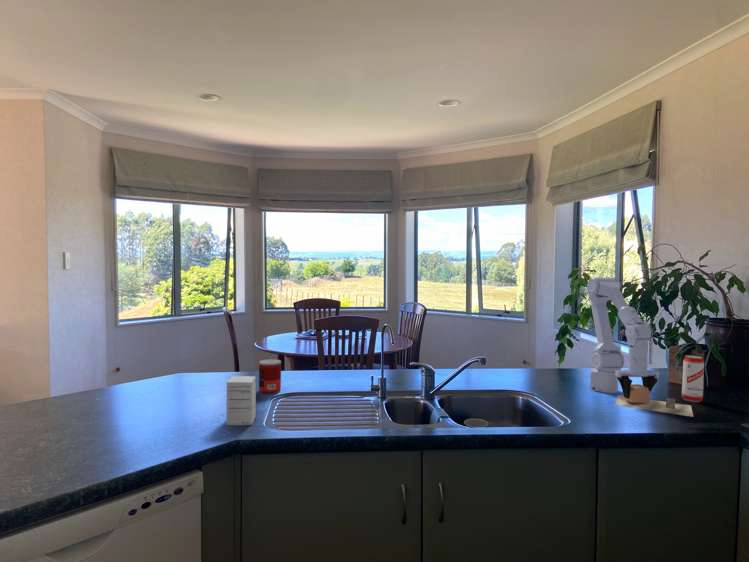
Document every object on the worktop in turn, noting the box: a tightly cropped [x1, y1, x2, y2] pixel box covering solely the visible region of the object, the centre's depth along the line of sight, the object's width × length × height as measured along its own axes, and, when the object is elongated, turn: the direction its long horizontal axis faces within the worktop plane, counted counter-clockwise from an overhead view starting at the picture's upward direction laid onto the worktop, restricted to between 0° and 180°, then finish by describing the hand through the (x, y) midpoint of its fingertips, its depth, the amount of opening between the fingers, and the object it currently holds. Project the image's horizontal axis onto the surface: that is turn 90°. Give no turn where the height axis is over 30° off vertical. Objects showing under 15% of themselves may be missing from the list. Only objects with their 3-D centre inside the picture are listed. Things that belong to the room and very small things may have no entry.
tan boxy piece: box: [622, 383, 651, 403], centre depth 161 cm, size 6×5×5 cm
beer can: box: [681, 354, 705, 403], centre depth 169 cm, size 6×6×16 cm
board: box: [614, 395, 694, 418], centre depth 158 cm, size 22×14×4 cm, turn 59°
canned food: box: [258, 358, 282, 395], centre depth 170 cm, size 8×8×11 cm
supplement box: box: [226, 375, 257, 426], centre depth 138 cm, size 7×7×13 cm
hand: (636, 397), depth 161 cm, fingers closed on tan boxy piece, 6 cm apart
